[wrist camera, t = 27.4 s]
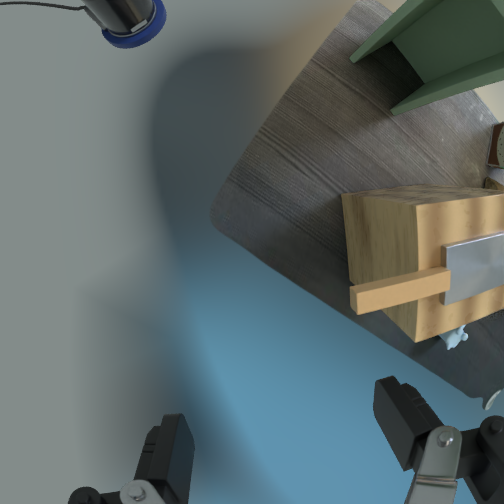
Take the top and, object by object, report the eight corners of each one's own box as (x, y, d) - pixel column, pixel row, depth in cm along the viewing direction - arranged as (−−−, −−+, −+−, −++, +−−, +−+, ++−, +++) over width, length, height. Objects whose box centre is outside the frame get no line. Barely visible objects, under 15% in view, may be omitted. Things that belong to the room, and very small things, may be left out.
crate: (349, 280, 48) (415, 343, 27) (340, 193, 45) (415, 205, 24) (428, 262, 48) (510, 304, 27) (424, 183, 45) (516, 192, 24)
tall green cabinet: (392, 117, 42) (547, 71, 11) (346, 59, 40) (461, -50, 9) (432, 86, 41) (568, 40, 10) (391, 33, 39) (503, -53, 8)
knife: (351, 326, 26) (357, 336, 25) (347, 264, 25) (355, 270, 23) (513, 276, 26) (523, 280, 25) (516, 227, 25) (526, 230, 23)
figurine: (462, 311, 51) (479, 323, 45) (439, 342, 52) (455, 356, 46) (454, 302, 50) (471, 313, 45) (430, 334, 52) (446, 348, 46)
